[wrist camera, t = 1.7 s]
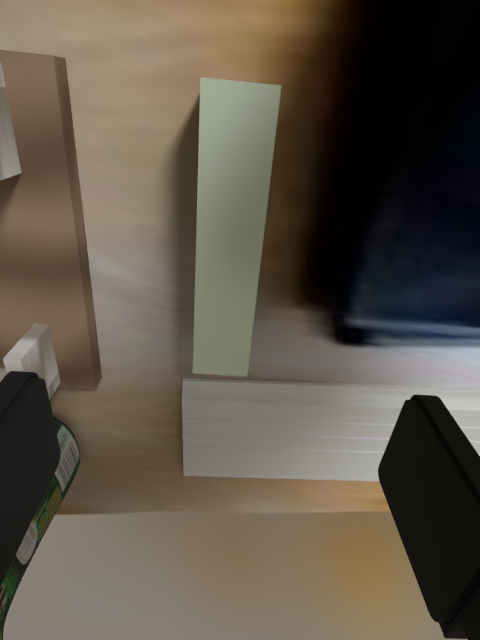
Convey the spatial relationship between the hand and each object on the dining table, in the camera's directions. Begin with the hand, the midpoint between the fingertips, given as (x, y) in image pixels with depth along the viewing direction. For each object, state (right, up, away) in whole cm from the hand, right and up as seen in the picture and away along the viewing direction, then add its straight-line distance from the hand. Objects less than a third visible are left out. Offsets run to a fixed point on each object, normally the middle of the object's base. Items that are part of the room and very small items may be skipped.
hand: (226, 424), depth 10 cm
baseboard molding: (+11, -6, +23) cm, 27 cm away
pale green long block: (0, +8, +14) cm, 17 cm away
